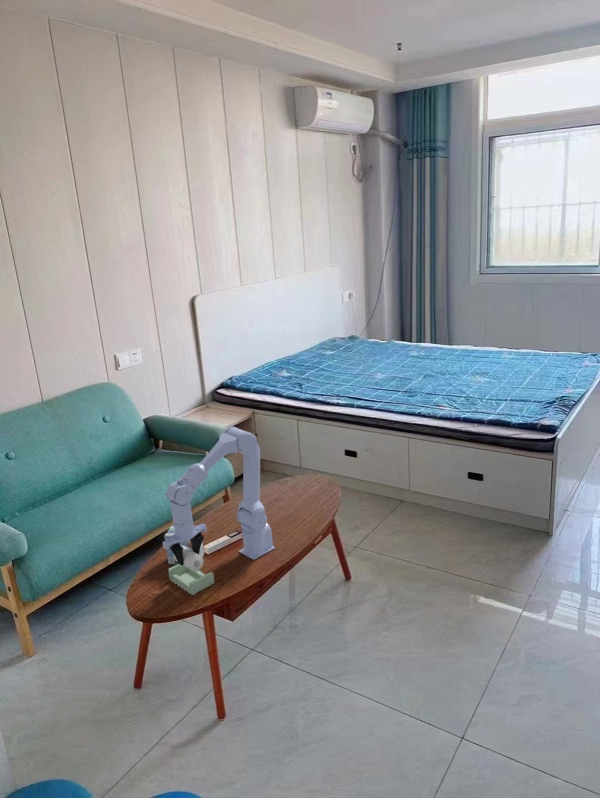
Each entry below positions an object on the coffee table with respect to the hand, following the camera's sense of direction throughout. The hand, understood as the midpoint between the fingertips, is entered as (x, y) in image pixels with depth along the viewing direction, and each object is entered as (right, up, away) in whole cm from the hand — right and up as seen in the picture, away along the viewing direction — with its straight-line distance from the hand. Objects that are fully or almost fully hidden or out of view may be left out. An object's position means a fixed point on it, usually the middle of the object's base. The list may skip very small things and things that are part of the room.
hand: (188, 560), depth 181 cm
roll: (0, +1, 0) cm, 1 cm away
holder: (+1, -7, +2) cm, 8 cm away
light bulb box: (-4, -4, +16) cm, 17 cm away
